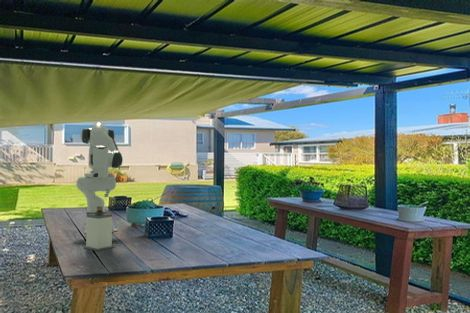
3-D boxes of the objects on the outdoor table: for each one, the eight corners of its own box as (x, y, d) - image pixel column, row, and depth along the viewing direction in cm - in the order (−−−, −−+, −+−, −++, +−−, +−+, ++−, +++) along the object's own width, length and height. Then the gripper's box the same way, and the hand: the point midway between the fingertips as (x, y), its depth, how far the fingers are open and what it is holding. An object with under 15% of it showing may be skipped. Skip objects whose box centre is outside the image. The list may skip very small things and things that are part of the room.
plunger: (99, 237, 256) (100, 205, 256) (107, 239, 252) (108, 206, 252) (90, 239, 250) (90, 206, 250) (98, 240, 246) (98, 207, 246)
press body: (100, 244, 260) (101, 212, 259) (114, 247, 253) (114, 214, 253) (83, 248, 250) (84, 214, 249) (97, 251, 243) (98, 216, 243)
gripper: (110, 172, 261) (110, 195, 262) (82, 174, 244) (81, 198, 244) (118, 173, 258) (117, 196, 258) (89, 174, 241) (89, 199, 241)
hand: (99, 197), depth 251 cm, fingers open, 8 cm apart
